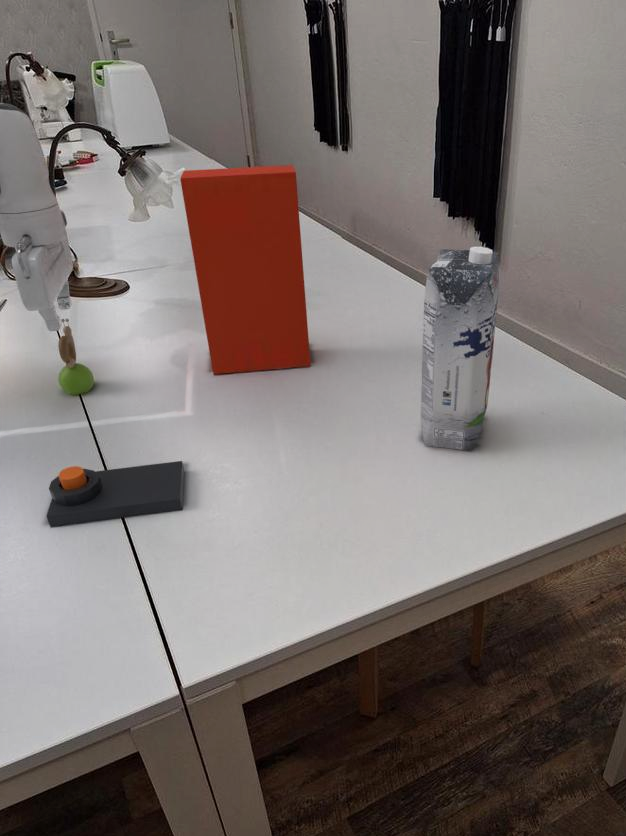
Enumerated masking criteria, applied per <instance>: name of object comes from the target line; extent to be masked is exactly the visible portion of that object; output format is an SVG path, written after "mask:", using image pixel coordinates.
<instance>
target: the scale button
mask: <svg viewBox="0 0 626 836" xmlns="http://www.w3.org/2000/svg"><path fill="white" fill-rule="evenodd" d="M84 469H85V468H83V467H82V466H78V465H75V466H73V465H72V466H68V467H66V468H63V469H62V470H61V471H60V472H59V473H58V476H59V479H60V482H61V485H62V487H63V489H65V490H73V489H78V488H80V487H83V486H84V485H85V484H86V483H87V479H86V475H85V472H84Z"/></svg>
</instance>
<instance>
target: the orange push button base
mask: <svg viewBox="0 0 626 836" xmlns="http://www.w3.org/2000/svg"><path fill="white" fill-rule="evenodd" d="M83 469H84V472H85V475H86V479H87V483H86V484H85V485H84V486H83V487H80V488H78V489H73V490H65V489H63V487H62V485H61V482H60V479H59V475H57V476H56V477H55V478H53V479H52V480H51V481H50V483H49V486H48V492H49V493H50V496H51V501H50V503H49V506H48V510H47V513H46V519H47V522H48V524H49V527H50V529H51V528H59V527H60V528H61V527H66V526H74V525H81V524H88V523H96V522H105V521H111V520H118V519H126V518H134V517H141V516H149V515H156V514H164V513H171V512H180V511H183V509H184V508H183V507H184V494H185V493H184V491H185V474H186V473H185V467H184V462H183V461H182V460H178V461H177V460H176V461H171V462H170V461H169V462H161V463H151V464H144V465H137V466H136V465H135V466H129V467H119V468H113V469H112V468H111V469H104V470H96V471H95V470H92V469H89V468H83Z"/></svg>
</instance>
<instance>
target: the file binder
mask: <svg viewBox="0 0 626 836" xmlns="http://www.w3.org/2000/svg"><path fill="white" fill-rule="evenodd" d="M179 179H180V186H181V191H182V197H183V198H182V199H183V204H184V208H185V209H184V210H185V213H186V214H185V216H186V222H187V227H188V233H189V239H190V245H191V251H192V257H193V263H194V269H195V275H196V279H197V286H198V292H199V299H200V305H201V310H202V316H203V322H204V328H205V333H206V340H207V345H208V352H209V358H210V364H211V369H212V374H213V375H219V374H220V375H221V374H231V373H243V372H256V371H265V370H266V371H267V370H268V371H269V370H278V369H290V368H302V367H310V366H312V365H311V353H310V339H309V327H308V326H309V325H308V314H307V302H306V301H307V299H306V287H305V273H304V263H303V262H304V261H303V252H302V251H303V249H302V248H303V247H302V235H301V223H300V222H301V221H300V210H299V209H300V208H299V197H298V196H299V195H298V182H297V173H296V170H295V167H294V165H293V164H286V165H285V164H284V165H266V166H247V167H246V166H245V167H230V168H229V167H227V168H213V169H212V168H211V169H209V168H208V169H191V170H190V169H189V170H188V169H187V170H183V172H182V174H181V175H180V178H179Z"/></svg>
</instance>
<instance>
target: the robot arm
mask: <svg viewBox="0 0 626 836" xmlns="http://www.w3.org/2000/svg"><path fill="white" fill-rule="evenodd" d="M49 172H50V171H49V167H48V164H47V161H46V157H45V154H44V151H43V148H42V144H41V142H40V139H39V136H38V134H37V132H36V129H35V127H34V125H33V123H32V121H31V119H30V117H29V116H28V114H26V113H25V112H24V111H23V110H22V109H21V108H19V107H17V106H15V105H13V104H10V103H5V102H3V101H2V102H1V101H0V238H1V240H2V242H3V243H2V244H3V245H4V246H6V247H9V248H14V249H15V253H14V254H13V255H12V257H11V267H12V271H13V275H14V279H15V282H16V287H17V289H18V292H19V296H20V299H21V302H22V304H23V307H24V308H25V309H26V310H27V311H28V312H29V311H30V312H35V311H37V312H38V313H39V315H40V316H41V318H42V319H43V320H44V322H45V325H46V329H47V330H48V331H49V332H58V331H60V330H61V328H62V322H61V317H60V315H58V314H57V311H56V309H55V308H56V306H55V302H56V303H57V305H58V309H60V310H70V309H71V307H72V305H73V304H72V299H71V295H70V287H69V286H70V285H69V281H68V279H69V278H70V275H71V274H72V271H73V269H74V265H73V256H72V252H71V247H70V242H69V237H68V233H67V228H66V227H67V225H68V221H67V217H66V213H65V212H64V210H62V209H61V208H60V205H59V201H58V199H57V196H56V195H55V193H54V192H53V190H52V187H51V185H50V177H49V176H50V174H49Z"/></svg>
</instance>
